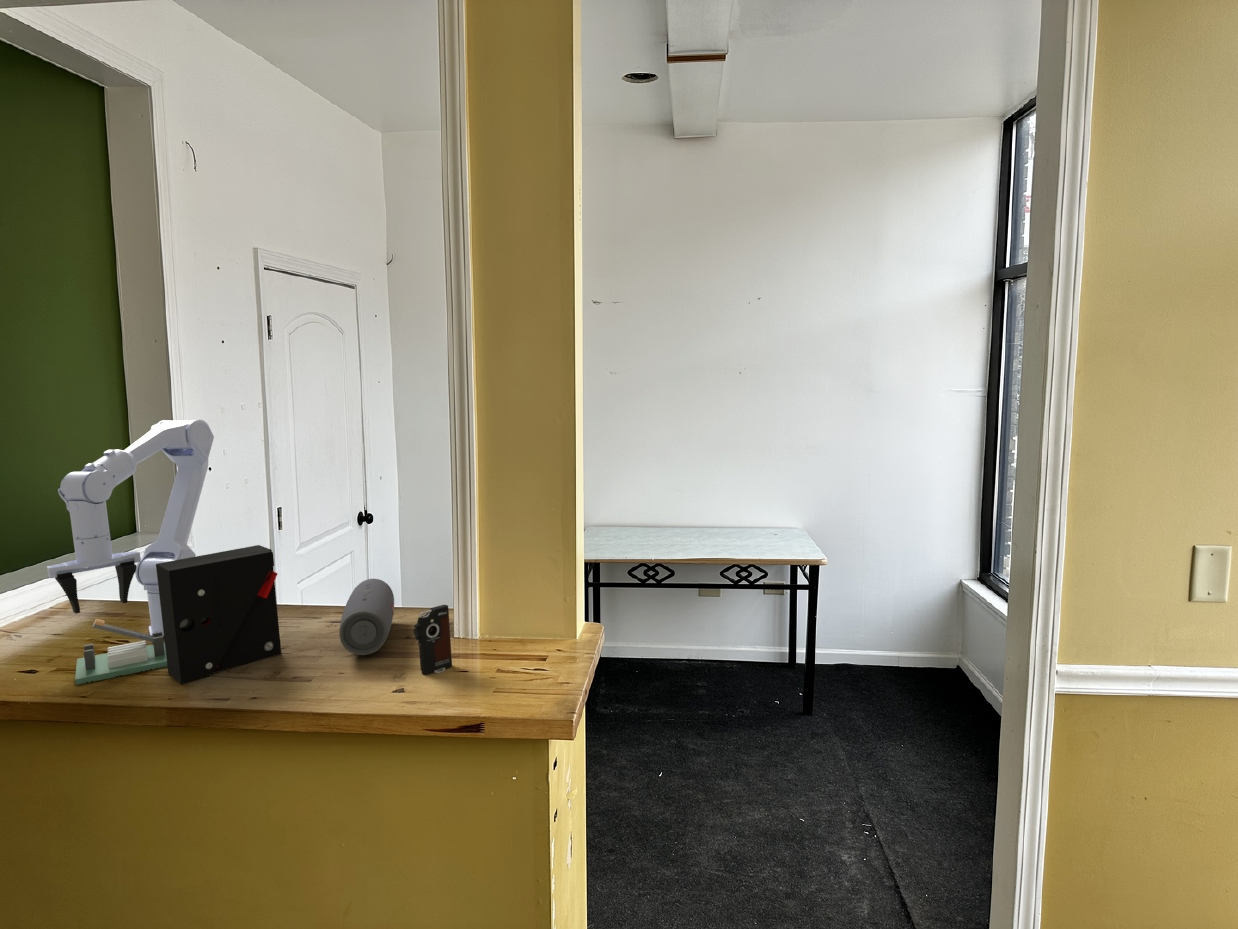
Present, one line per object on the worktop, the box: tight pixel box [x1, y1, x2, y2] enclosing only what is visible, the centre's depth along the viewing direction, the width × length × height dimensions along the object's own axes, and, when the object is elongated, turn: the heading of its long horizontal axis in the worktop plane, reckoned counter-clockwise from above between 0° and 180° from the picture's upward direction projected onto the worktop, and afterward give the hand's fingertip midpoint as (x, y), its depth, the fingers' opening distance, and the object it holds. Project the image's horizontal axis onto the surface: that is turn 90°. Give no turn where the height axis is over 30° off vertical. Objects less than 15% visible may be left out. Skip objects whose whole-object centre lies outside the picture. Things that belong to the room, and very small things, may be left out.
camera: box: [413, 604, 453, 676], centre depth 140 cm, size 6×3×11 cm, turn 127°
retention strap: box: [92, 618, 155, 643], centre depth 148 cm, size 12×2×1 cm, turn 123°
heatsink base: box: [74, 631, 168, 686], centre depth 148 cm, size 16×12×4 cm
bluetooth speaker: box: [338, 578, 395, 656], centre depth 156 cm, size 23×9×10 cm, turn 13°
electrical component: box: [156, 544, 282, 685], centre depth 146 cm, size 18×10×20 cm, turn 135°
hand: (100, 607), depth 151 cm, fingers open, 7 cm apart
